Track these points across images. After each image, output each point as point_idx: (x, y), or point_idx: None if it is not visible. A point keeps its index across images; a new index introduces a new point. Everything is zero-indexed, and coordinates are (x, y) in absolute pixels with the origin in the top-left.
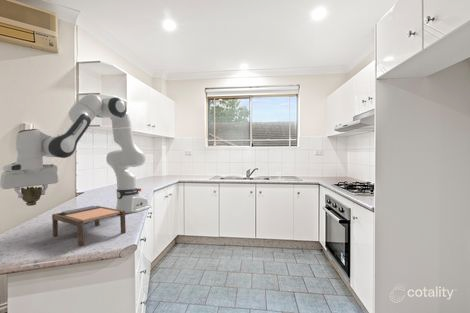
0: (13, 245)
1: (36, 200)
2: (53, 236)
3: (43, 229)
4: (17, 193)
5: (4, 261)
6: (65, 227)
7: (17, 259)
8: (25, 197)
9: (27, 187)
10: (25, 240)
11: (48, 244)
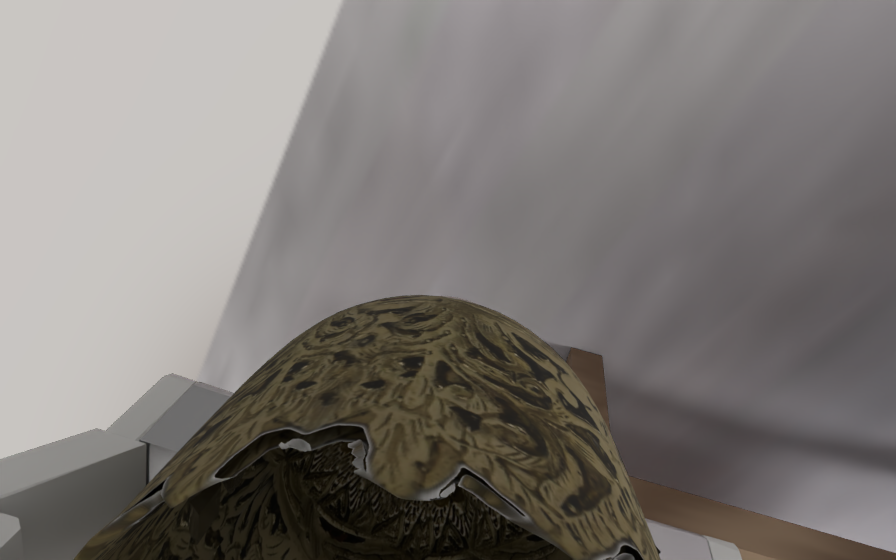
0: (314, 234)
1: (462, 514)
2: (567, 359)
3: None
4: (80, 457)
5: None
6: (892, 187)
7: None
8: (257, 517)
9: (393, 477)
10: (425, 202)
11: None
